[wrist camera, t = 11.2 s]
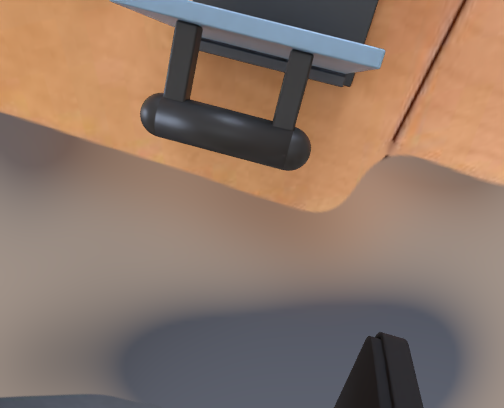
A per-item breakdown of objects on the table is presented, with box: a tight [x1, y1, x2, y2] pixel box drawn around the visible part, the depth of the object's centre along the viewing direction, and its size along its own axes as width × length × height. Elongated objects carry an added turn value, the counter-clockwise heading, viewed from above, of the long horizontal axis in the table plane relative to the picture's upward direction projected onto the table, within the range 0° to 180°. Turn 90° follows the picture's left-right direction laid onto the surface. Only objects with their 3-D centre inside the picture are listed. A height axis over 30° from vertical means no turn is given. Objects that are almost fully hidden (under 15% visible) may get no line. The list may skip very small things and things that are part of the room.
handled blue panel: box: [110, 0, 385, 171], centre depth 19 cm, size 11×9×5 cm
